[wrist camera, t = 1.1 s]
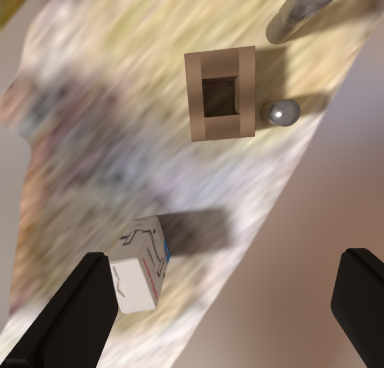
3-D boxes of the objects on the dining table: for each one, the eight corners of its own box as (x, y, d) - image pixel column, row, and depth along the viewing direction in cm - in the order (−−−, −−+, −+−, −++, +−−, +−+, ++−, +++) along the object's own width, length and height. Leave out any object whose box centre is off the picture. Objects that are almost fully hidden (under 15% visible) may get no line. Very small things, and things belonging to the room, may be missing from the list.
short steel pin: (261, 102, 31) (274, 100, 25) (282, 100, 31) (301, 98, 25) (260, 124, 32) (273, 127, 26) (282, 122, 31) (299, 125, 26)
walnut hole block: (187, 62, 30) (184, 53, 25) (246, 56, 29) (255, 45, 24) (193, 137, 33) (191, 141, 28) (247, 132, 32) (254, 136, 27)
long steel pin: (266, 18, 28) (325, -67, 14) (290, 15, 27) (373, -74, 14) (265, 45, 28) (321, -11, 15) (289, 43, 28) (366, -17, 15)
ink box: (171, 255, 40) (158, 312, 29) (145, 260, 40) (123, 317, 29) (157, 214, 37) (138, 258, 26) (130, 219, 38) (100, 265, 27)
